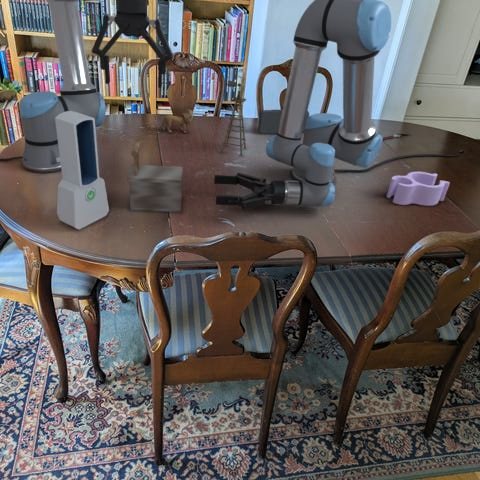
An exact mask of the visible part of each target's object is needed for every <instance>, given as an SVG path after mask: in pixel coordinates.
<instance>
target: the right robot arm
mask: <svg viewBox="0 0 480 480" xmlns="http://www.w3.org/2000/svg"><path fill="white" fill-rule="evenodd" d="M391 31H392V13H391V10H390V7H389V6H388V5H387V4H386V3H385V2H384V1H382V0H313V1H312V2H311V3H310V4H309V5H308V6H307V8H306V9H305V10H304V12H303V14H302V15H301V17H300V19H299V21H298V23H297V26H296V28H295V32H294V35H293V40H292V41H293V42H292V43H293V44H294V46H295V48H294V52H293V57H292V62H291V66H290V73H289V77H288V80H287V81H288V82H287V86H286V91H285V96H284V100H283V106H282V109H281V110H282V114H281V119H280V124H279V129H278V133H276V134H274V135H272V136H270V138H269V139H268V142H267V143H266V146H265V153H266V156H267V157H268V158H270V159H272V160H274V161H276V162H278V163H282V164H284V165H287V166H289V167H292V173H291V176H292V178H293V179H294V180H287V179H286V180H285V181H284V179H272V180H271V182H270V183H267V178H264V177H257V176H253V175H250V174H247V173H246V174H245V173H241V172H236V174H235V175H224V174H223V175H222V174H214V178H213V179H214V180H213V184H214V185H227V186H229V185H231V186H238V185H239V186H241V187H244V188H246V189H249V190H251V192H252V193H249V194H246V195H244V196H241V195H222V194H221V195H220V194H215V205H217V206H235V207H236V206H238V208H240V210H241V211H248V210H253V209H256V208H257V209H258V208H260V207H261V208H262V207H270V206H271V205H285V206H304V207H306V206H307V207H317V208H318V207H319V208H320V207H330V206H331V205H333V203H334V201H335V199H336V198H335V197H336V188H335V185H334V182H335V177H336V176H335V173H365V172H369V171H372V170H373V169H375V168H377V167H379V166H381V165H383V164H387V163H389V162H392V161H396V160H400V159H406V158H417V157H457V156H459V155H460V154H457V153H456V154H457V155H444V154H445V153H420V154H419V153H418V154H417V153H415V154H406V155H400V156H395V157H392V158H388V159H386V160H383V161H381V162H379V163H376V164H373V165H371V164H372V163H373V162H374V161H375V159H376V157H377V156H378V154H379V152H380V149H381V147H382V145H383V141H384V140H383V138H384V137H383V136H382V135H381V134H379V133H377V126H376V124H375V122H374V121H373V120H372V116H373V115H372V114H373V113H372V112H373V98H374V97H373V95H374V92H373V91H374V72H375V57H377V56H378V55H379V53H380V52H381V51H382V49H384V47H385V46H386V45H387V42H388V40H389V37H390V35H389V34H390V33H391ZM329 42H332V43H336V52H337V56H338V57H339V58H340V59H342V116H341V115H339V114H336V113H330V112H329V113H328V112H324V113H323V112H322V113H320V112H319V113H314V114H311V115H309V117H308V119H307V122H306V126H305V132H303V127H304V123H305V119H306V115H307V111H308V110H309V106H310V102H311V99H312V94H313V90H314V86H315V82H316V77H317V73H318V69H319V65H320V62H321V57H322V54H323V53H322V52H323V51H325V50H326V49H327V47H328V44H329ZM308 112H309V111H308ZM302 132H303V133H302ZM302 135H303V138H302ZM301 140H302V143H301ZM463 150H464V149H461V150H459V152H462V151H463ZM465 153H466V152H465V150H464V152H462V154H465ZM335 159H337V160H339V161H342V162H344V163H347V164H350V165H352V166H355V167H360V168H363V169H347V168H346V169H344V168H343V169H339V168H338V169H337V168H336V169H335V168H334V167H335ZM370 165H371V166H370ZM369 166H370V167H369Z"/></svg>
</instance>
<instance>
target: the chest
mask: <svg viewBox="0 0 480 480" xmlns="http://www.w3.org/2000/svg"><path fill="white" fill-rule="evenodd" d="M182 173H183V171H182ZM128 184H129V185H128V186H129V209H130V211H140V212H141V211H142V212H144V211H145V212H163V213H164V212H165V213H182V201H183V182H182V183H163V182H143V181H128Z"/></svg>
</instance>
